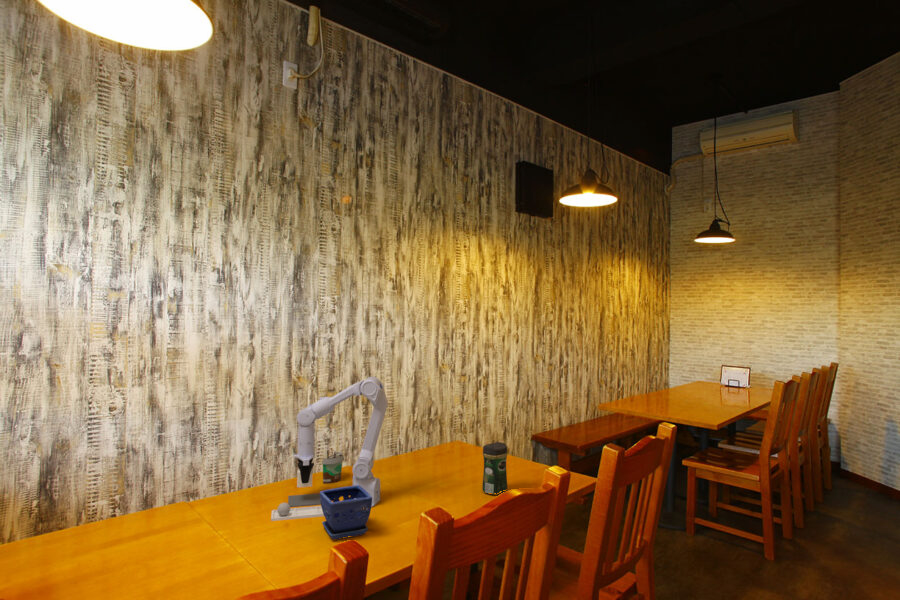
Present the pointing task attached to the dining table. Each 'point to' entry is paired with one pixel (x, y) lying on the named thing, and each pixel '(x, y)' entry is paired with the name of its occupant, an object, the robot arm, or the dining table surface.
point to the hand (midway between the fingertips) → (304, 480)
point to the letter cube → (299, 482)
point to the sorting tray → (298, 513)
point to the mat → (304, 500)
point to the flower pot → (345, 511)
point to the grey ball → (283, 509)
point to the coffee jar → (495, 468)
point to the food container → (332, 468)
